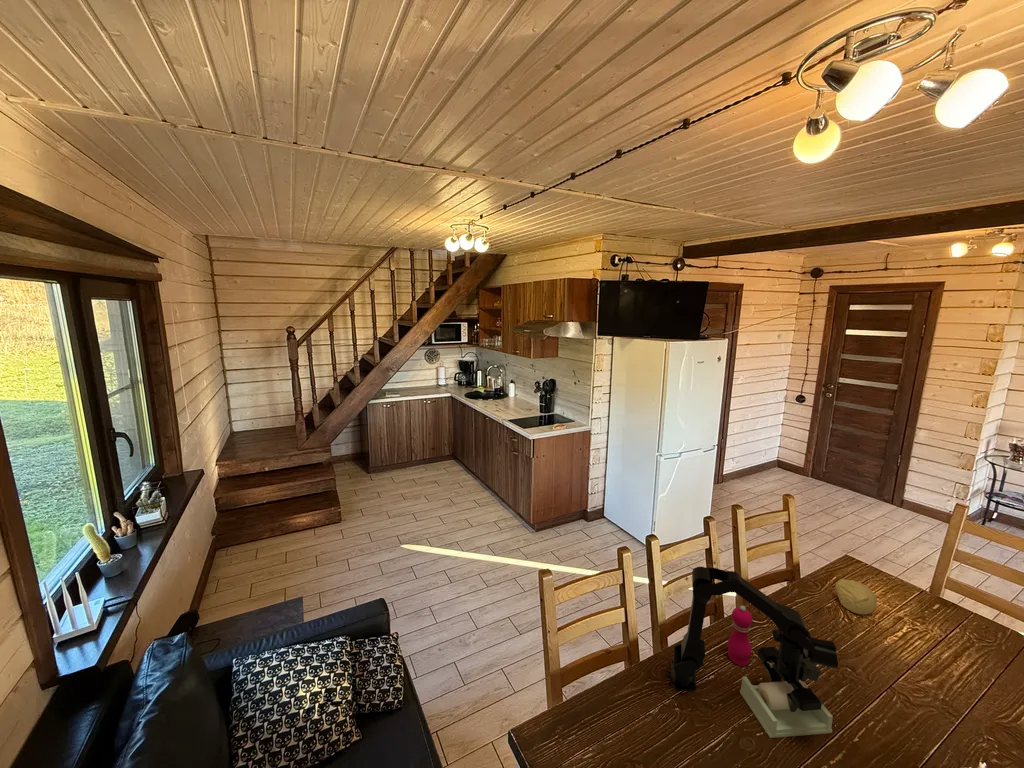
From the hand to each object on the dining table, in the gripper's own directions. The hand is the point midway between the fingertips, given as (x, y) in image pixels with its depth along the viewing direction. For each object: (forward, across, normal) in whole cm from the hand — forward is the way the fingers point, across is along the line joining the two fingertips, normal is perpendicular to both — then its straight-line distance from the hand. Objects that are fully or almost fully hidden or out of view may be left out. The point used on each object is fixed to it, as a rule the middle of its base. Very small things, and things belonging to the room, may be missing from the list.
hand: (784, 700), depth 121 cm
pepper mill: (+4, +19, +2) cm, 19 cm away
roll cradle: (+4, 0, 0) cm, 4 cm away
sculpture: (+4, +38, -57) cm, 69 cm away
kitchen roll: (-2, 0, 0) cm, 2 cm away
